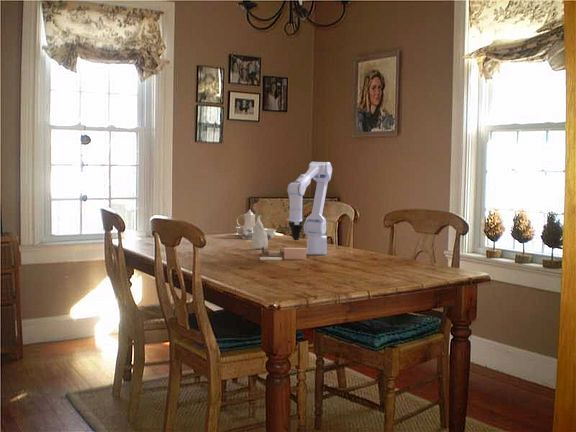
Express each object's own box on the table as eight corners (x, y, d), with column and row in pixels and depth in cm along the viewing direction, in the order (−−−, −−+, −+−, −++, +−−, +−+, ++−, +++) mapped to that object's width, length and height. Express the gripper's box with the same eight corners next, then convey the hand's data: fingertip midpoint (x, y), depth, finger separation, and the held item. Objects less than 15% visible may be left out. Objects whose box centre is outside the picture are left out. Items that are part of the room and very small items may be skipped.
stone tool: (252, 250, 339) (252, 219, 338) (250, 249, 342) (250, 219, 341) (268, 249, 342) (269, 219, 341) (266, 248, 345) (267, 218, 344)
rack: (286, 254, 327) (286, 247, 327) (287, 257, 318) (288, 250, 318) (261, 254, 326) (261, 247, 326) (261, 257, 317) (261, 249, 317)
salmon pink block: (305, 258, 316) (306, 247, 316) (306, 259, 313) (306, 248, 312) (284, 258, 316) (284, 247, 316) (284, 259, 313) (284, 248, 312)
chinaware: (280, 240, 388) (282, 211, 388) (268, 241, 373) (269, 210, 373) (237, 237, 400) (238, 209, 400) (222, 237, 385) (224, 208, 385)
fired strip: (282, 259, 314) (282, 257, 314) (282, 261, 311) (282, 258, 311) (260, 259, 314) (260, 257, 314) (259, 260, 310) (260, 258, 310)
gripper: (286, 207, 319) (285, 237, 321) (288, 210, 305) (287, 241, 306) (301, 207, 320) (300, 237, 321) (304, 210, 305) (303, 241, 307)
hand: (295, 239), depth 314 cm, fingers open, 7 cm apart
